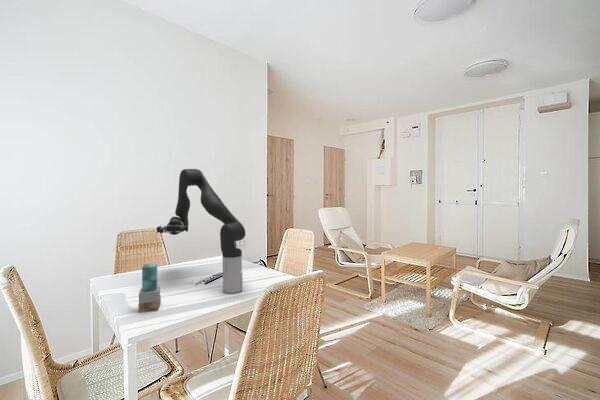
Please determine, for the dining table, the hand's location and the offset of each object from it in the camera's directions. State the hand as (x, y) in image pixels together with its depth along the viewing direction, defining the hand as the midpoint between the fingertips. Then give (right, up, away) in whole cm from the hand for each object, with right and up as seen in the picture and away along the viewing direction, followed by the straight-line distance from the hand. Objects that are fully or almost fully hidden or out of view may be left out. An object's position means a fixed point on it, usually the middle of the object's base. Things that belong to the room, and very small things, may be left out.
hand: (171, 230), depth 133 cm
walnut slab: (-1, -31, -17) cm, 35 cm away
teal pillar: (-1, -23, -17) cm, 28 cm away
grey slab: (-1, -27, -18) cm, 32 cm away
